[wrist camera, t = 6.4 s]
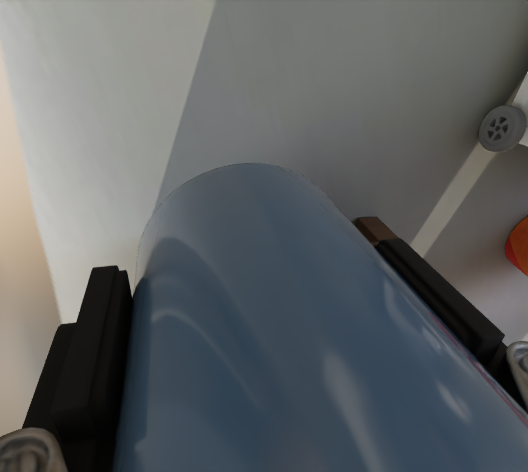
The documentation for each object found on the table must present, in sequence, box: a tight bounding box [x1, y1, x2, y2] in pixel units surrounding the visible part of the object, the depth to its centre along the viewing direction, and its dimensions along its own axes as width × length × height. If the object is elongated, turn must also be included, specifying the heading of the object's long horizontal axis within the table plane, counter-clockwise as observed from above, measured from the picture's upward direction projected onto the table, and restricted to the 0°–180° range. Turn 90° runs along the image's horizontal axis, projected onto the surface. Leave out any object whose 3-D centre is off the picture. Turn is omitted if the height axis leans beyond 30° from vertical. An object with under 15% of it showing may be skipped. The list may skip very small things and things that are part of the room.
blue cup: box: [111, 163, 528, 472], centre depth 8 cm, size 7×7×9 cm
